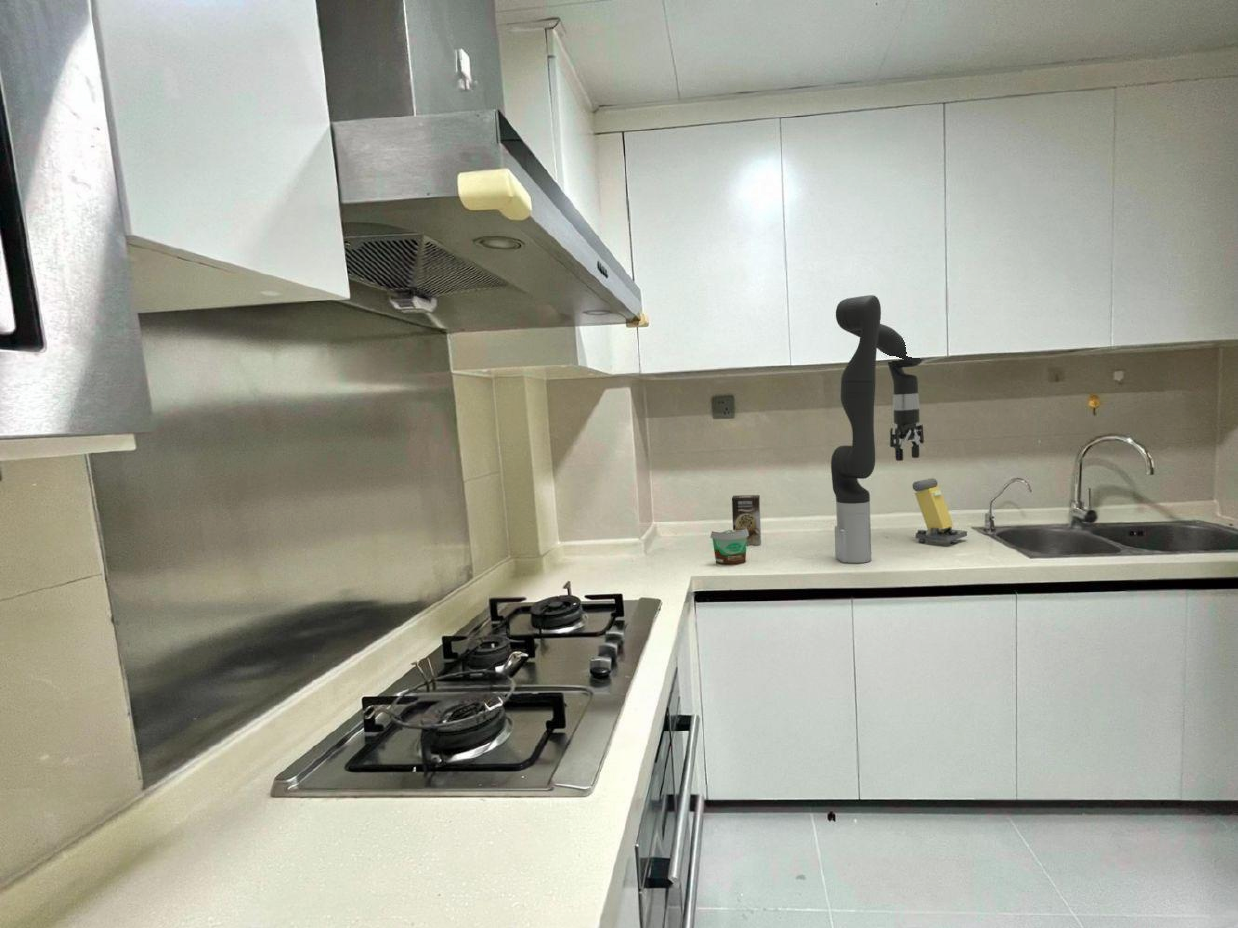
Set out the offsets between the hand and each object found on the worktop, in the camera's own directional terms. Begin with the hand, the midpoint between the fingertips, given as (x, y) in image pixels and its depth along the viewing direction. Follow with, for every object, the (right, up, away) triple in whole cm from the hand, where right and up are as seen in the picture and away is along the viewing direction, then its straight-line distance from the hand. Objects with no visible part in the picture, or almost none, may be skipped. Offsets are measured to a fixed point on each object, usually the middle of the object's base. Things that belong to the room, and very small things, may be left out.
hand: (907, 459), depth 212 cm
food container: (-58, -31, -14) cm, 67 cm away
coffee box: (-49, -29, +11) cm, 58 cm away
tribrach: (+9, -26, -3) cm, 28 cm away
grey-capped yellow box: (+9, -22, -4) cm, 24 cm away
